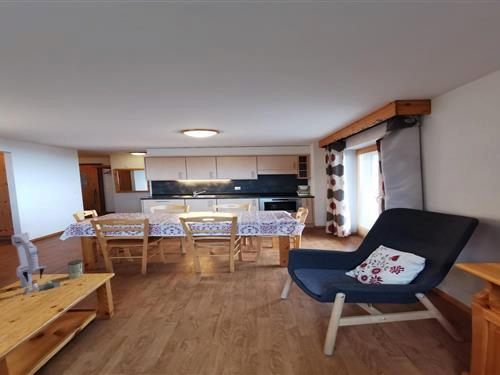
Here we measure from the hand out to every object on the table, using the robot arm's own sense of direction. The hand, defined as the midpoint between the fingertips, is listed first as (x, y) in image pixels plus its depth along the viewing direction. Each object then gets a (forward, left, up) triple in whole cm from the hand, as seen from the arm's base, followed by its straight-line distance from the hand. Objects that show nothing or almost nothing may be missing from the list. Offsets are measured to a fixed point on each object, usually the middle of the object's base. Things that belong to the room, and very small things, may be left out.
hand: (34, 279), depth 190 cm
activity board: (-3, +5, -10) cm, 11 cm away
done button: (+2, +9, -5) cm, 10 cm away
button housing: (+2, +9, -9) cm, 12 cm away
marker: (0, 0, -9) cm, 9 cm away
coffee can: (-11, +27, -10) cm, 30 cm away
